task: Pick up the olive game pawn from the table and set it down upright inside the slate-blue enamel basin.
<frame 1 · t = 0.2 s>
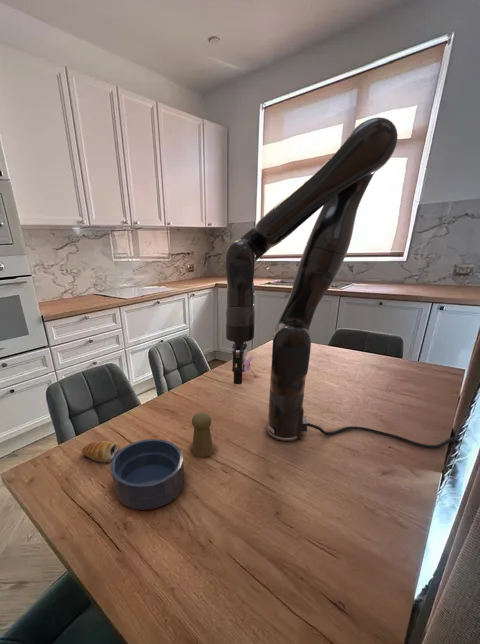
hand: (239, 377, 88), 17 cm above the table, tool pointing down, fingers open, 8 cm apart
olive game pawn: (202, 450, 86), on the table
basin: (150, 483, 75), on the table
pastry: (102, 455, 86), on the table
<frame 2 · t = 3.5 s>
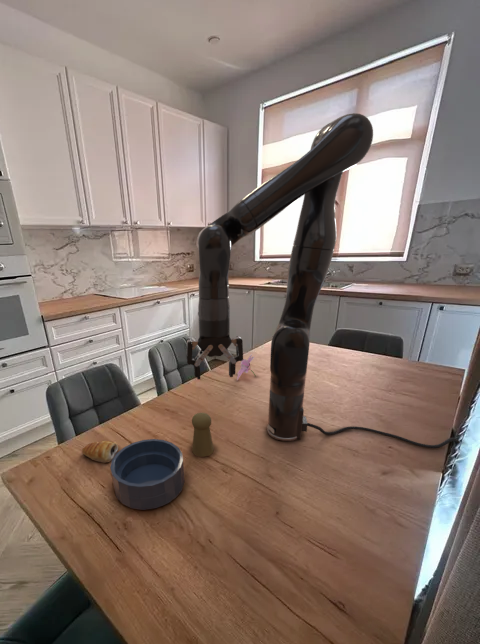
hand: (214, 377, 81), 20 cm above the table, tool pointing down, fingers open, 8 cm apart
nothing on the table moved.
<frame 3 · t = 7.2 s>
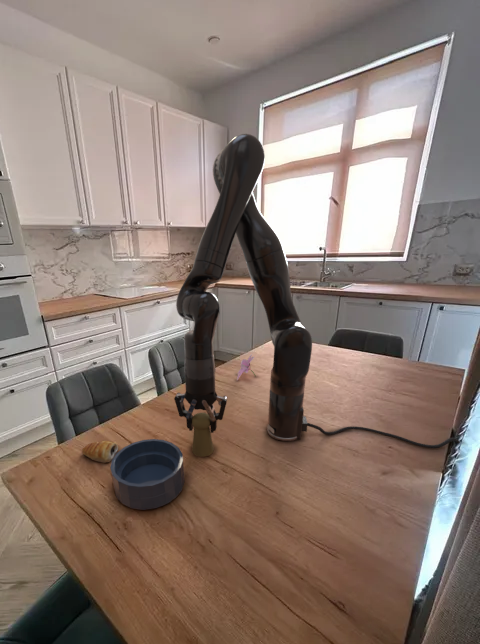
hand: (202, 429, 84), 6 cm above the table, tool pointing down, fingers closed on olive game pawn, 5 cm apart
olive game pawn: (202, 450, 86), on the table, touching gripper
everything else where it was.
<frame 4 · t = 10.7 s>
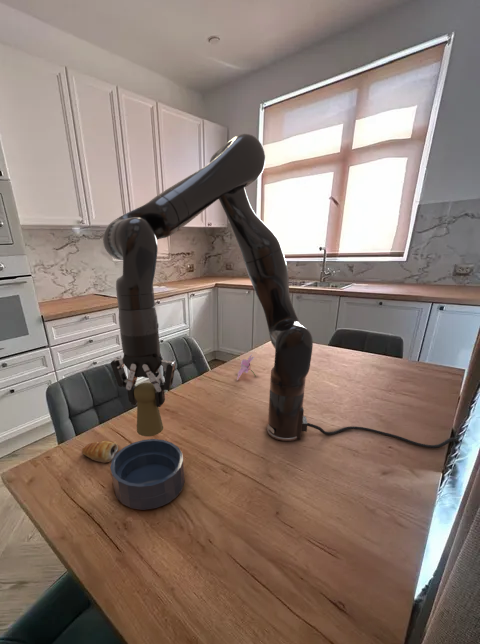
hand: (147, 403, 68), 21 cm above the table, tool pointing down, fingers closed on olive game pawn, 5 cm apart
olive game pawn: (150, 429, 71), point 14 cm above the table, touching gripper
everything else where it was.
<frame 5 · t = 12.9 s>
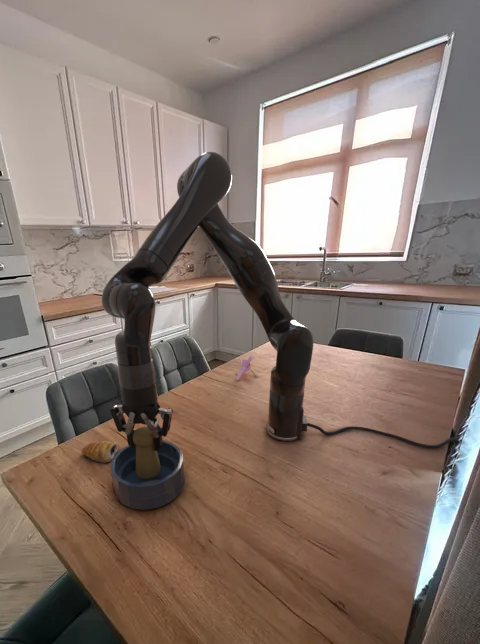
hand: (145, 447, 71), 11 cm above the table, tool pointing down, fingers closed on olive game pawn, 5 cm apart
olive game pawn: (148, 470, 74), point 4 cm above the table, touching gripper
everything else where it was.
when the fingers open (7 cm above the table, at t = 14.3 s): olive game pawn stays where it is, resting on basin.
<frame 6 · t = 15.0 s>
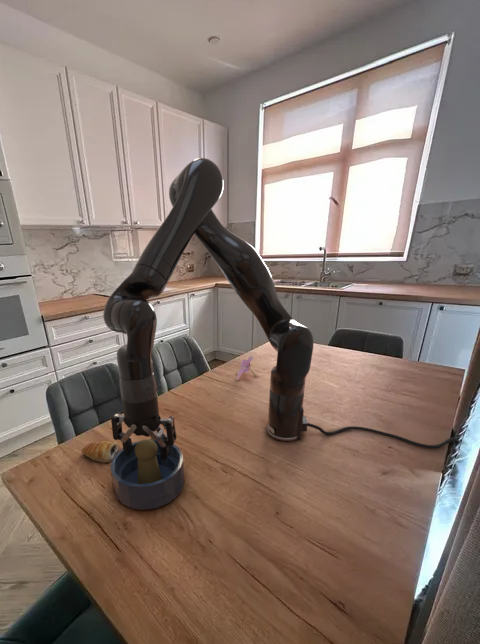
hand: (146, 455, 72), 8 cm above the table, tool pointing down, fingers open, 8 cm apart
olive game pawn: (150, 482, 75), resting on basin
everything else where it was.
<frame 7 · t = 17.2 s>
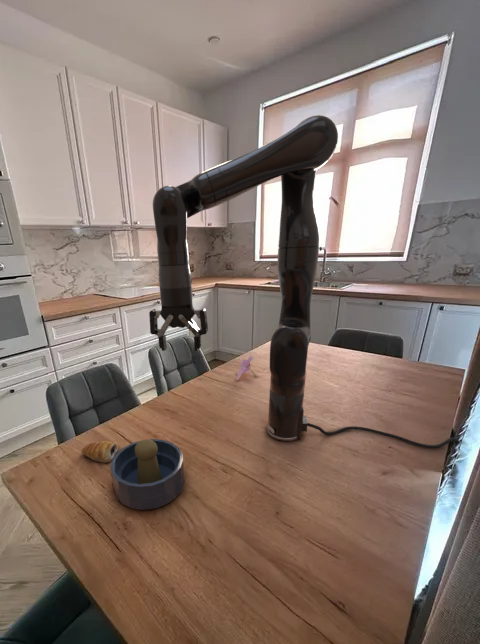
hand: (180, 350, 79), 28 cm above the table, tool pointing down, fingers open, 8 cm apart
nothing on the table moved.
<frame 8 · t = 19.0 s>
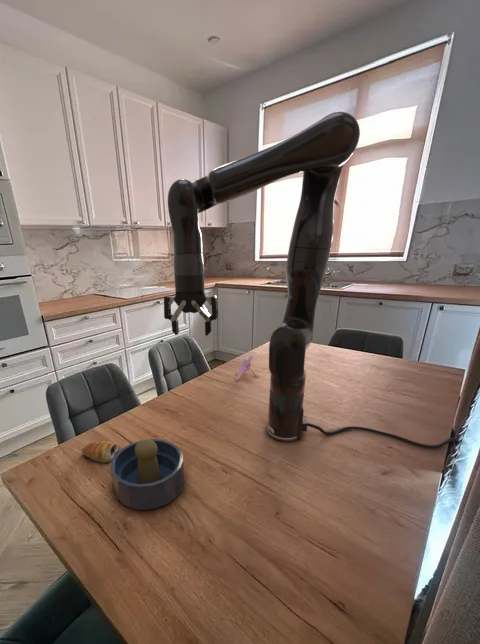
hand: (191, 334, 85), 30 cm above the table, tool pointing down, fingers open, 8 cm apart
nothing on the table moved.
at the end: olive game pawn inside the target area in the basin (0.2 cm from its centre), point 0.4 cm above the basin's base; olive game pawn tilted 0° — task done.
